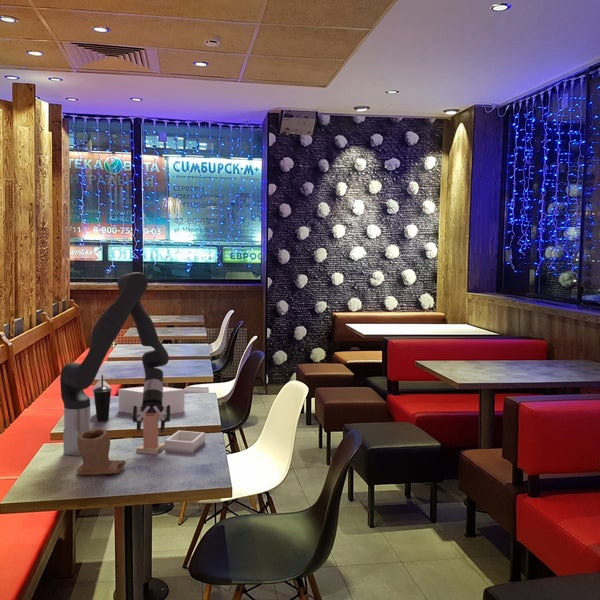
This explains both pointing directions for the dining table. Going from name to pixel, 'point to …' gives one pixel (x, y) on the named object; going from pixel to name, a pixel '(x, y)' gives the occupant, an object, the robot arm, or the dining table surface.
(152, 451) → the stake board
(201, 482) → the dining table surface
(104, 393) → the drinking cup
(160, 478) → the dining table surface
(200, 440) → the tray
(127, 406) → the block
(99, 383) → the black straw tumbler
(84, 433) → the brown hollow piece
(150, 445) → the sleeve
